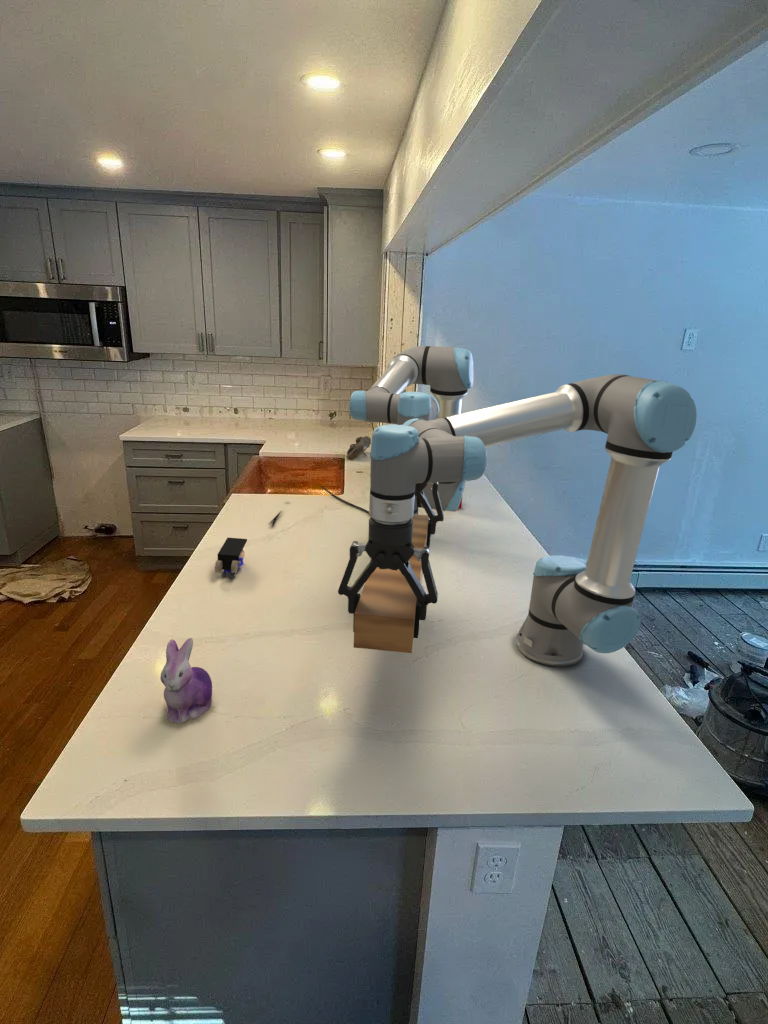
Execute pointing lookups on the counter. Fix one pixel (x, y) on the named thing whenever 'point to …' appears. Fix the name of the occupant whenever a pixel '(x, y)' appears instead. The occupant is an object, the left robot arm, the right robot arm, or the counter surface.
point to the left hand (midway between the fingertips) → (406, 543)
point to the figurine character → (230, 556)
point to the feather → (274, 519)
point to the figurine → (184, 684)
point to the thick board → (390, 603)
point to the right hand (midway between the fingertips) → (386, 631)
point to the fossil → (358, 447)
